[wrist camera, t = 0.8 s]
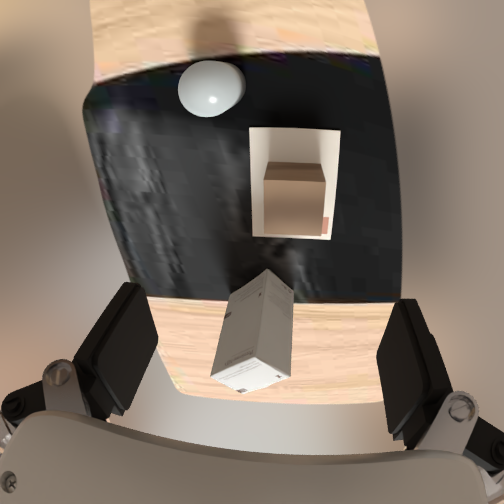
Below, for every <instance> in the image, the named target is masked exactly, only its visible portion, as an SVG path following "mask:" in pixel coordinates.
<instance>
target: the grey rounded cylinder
mask: <svg viewBox="0 0 504 504" xmlns="http://www.w3.org/2000/svg"><path fill="white" fill-rule="evenodd" d="M245 90H246V80H245V77H244V75H243V73H242V72H241V70H240V69H239V68H238V67H236V66H235V65H233V64H230V63H227V62H218V61H201V62H197V63H195V64H193V65H192V66H190V67H189V68H188V69H187V70H186V71H185V72H184V73H183V75H182V76H181V78H180V81H179V85H178V93H179V98H180V100H181V102H182V104H183V106H184V107H185V108H186V109H187V110H188V111H190V112H191V113H193V114H195V115H197V116H201V117H212V116H216V115H219V114H221V113H223V112H224V111H226V110H227V109H229V108H231V107H232V106H234V105H235V104H237V103H238V102H239V101H240V100H241V99H242V97H243V95H244V93H245Z"/></svg>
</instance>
